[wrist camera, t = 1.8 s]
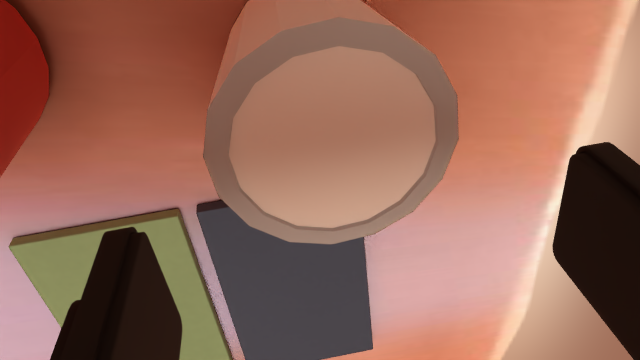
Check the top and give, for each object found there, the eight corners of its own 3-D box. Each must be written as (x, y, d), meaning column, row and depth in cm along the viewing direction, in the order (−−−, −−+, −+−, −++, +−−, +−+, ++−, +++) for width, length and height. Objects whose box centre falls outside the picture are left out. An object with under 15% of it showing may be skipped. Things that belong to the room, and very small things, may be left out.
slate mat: (196, 204, 22) (196, 212, 22) (356, 175, 22) (359, 183, 22) (249, 365, 29) (250, 374, 28) (370, 341, 29) (373, 349, 29)
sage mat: (12, 237, 22) (7, 246, 21) (178, 207, 22) (177, 216, 21) (111, 392, 29) (109, 402, 28) (236, 367, 29) (236, 376, 28)
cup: (244, -79, 16) (252, -29, 10) (424, -1, 18) (512, 75, 13) (189, 105, 19) (172, 219, 14) (347, 152, 22) (389, 266, 16)
